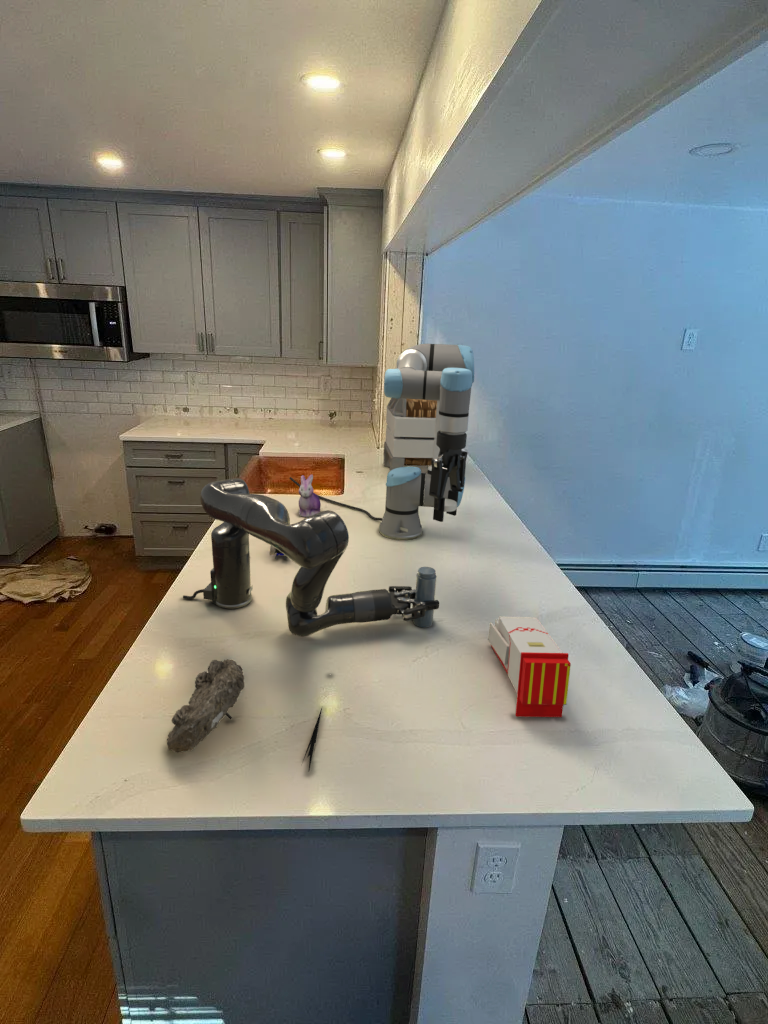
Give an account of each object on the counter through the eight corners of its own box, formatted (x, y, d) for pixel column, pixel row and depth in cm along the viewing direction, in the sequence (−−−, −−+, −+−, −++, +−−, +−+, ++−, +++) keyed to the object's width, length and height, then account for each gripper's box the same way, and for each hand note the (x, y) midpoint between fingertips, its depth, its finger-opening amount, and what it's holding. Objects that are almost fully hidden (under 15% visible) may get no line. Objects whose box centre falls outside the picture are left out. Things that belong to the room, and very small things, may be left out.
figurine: (302, 519, 209) (301, 480, 204) (293, 510, 217) (292, 472, 212) (325, 516, 213) (326, 477, 208) (316, 507, 222) (316, 470, 217)
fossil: (192, 660, 117) (244, 628, 112) (224, 691, 120) (276, 661, 115) (142, 746, 98) (202, 712, 93) (182, 779, 101) (242, 748, 96)
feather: (331, 679, 122) (336, 673, 122) (307, 777, 96) (313, 769, 95) (324, 675, 122) (329, 669, 121) (298, 772, 95) (304, 764, 95)
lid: (445, 513, 146) (446, 507, 145) (429, 506, 150) (430, 501, 150) (461, 509, 150) (461, 503, 149) (445, 502, 154) (445, 497, 153)
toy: (534, 602, 136) (579, 659, 107) (529, 653, 139) (572, 723, 110) (484, 601, 136) (516, 658, 107) (480, 652, 139) (510, 722, 109)
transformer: (382, 463, 289) (386, 382, 275) (445, 464, 293) (451, 384, 279) (390, 482, 257) (394, 392, 243) (460, 483, 261) (468, 394, 247)
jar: (409, 620, 145) (412, 568, 140) (424, 615, 147) (428, 564, 142) (421, 629, 141) (425, 576, 136) (436, 624, 144) (441, 572, 139)
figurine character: (291, 566, 174) (297, 542, 188) (290, 545, 171) (296, 522, 184) (269, 566, 174) (276, 541, 187) (268, 544, 171) (275, 521, 184)
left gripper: (378, 606, 130) (446, 599, 135) (362, 579, 143) (425, 573, 148) (376, 635, 133) (444, 626, 138) (361, 605, 146) (423, 598, 150)
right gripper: (459, 424, 152) (452, 505, 160) (418, 434, 138) (412, 522, 146) (483, 428, 147) (475, 512, 155) (443, 440, 134) (436, 530, 142)
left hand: (434, 599), depth 143 cm, fingers closed on jar, 5 cm apart
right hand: (444, 517), depth 151 cm, fingers closed on lid, 6 cm apart
